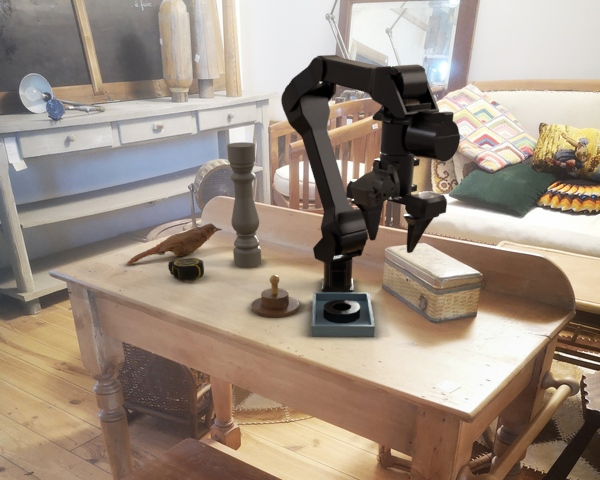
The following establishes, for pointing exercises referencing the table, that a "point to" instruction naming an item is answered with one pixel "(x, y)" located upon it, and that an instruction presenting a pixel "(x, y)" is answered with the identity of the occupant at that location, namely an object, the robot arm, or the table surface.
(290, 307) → the wooden peg stand
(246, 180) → the candle holder
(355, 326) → the tray
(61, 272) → the table surface
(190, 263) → the tape measure
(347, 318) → the ring
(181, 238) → the bird sculpture
